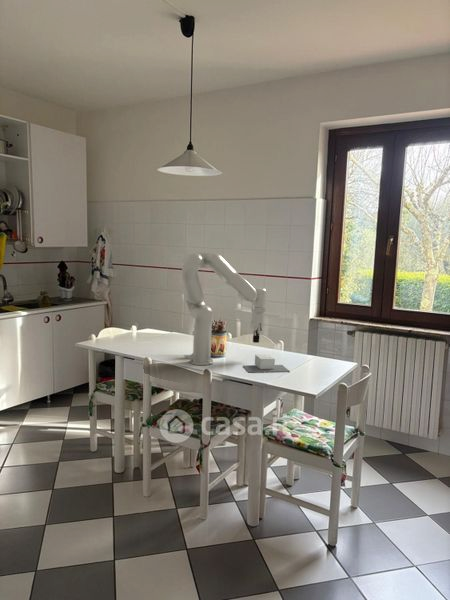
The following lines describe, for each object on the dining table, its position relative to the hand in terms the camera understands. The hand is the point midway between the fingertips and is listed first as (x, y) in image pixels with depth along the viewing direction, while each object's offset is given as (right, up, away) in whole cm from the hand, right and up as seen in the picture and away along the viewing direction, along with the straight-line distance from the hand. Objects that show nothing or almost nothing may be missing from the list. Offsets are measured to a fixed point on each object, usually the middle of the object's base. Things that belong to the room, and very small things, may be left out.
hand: (255, 342), depth 252 cm
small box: (+3, -8, -9) cm, 12 cm away
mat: (+4, -13, -16) cm, 21 cm away
